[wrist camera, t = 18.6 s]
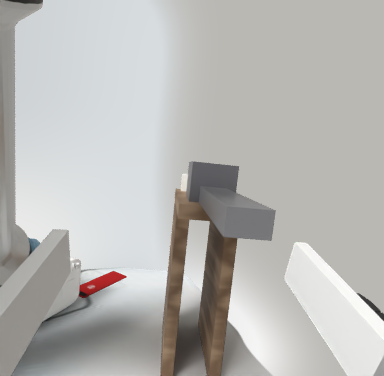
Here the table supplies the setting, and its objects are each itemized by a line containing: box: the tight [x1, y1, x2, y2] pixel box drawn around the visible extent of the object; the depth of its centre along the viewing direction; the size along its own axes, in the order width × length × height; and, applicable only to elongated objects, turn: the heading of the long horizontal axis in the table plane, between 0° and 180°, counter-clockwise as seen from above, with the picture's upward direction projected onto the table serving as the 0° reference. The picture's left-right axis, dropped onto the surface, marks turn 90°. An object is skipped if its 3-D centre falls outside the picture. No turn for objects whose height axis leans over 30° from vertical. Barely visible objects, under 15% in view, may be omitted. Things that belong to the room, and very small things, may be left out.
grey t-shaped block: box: [186, 162, 275, 241], centre depth 31 cm, size 7×25×6 cm, turn 5°
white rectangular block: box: [180, 173, 188, 191], centre depth 51 cm, size 8×3×4 cm, turn 95°
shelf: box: [160, 189, 237, 376], centre depth 44 cm, size 10×20×30 cm, turn 5°
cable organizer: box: [43, 258, 81, 321], centre depth 52 cm, size 15×11×12 cm
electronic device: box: [79, 271, 126, 298], centre depth 67 cm, size 6×1×15 cm
